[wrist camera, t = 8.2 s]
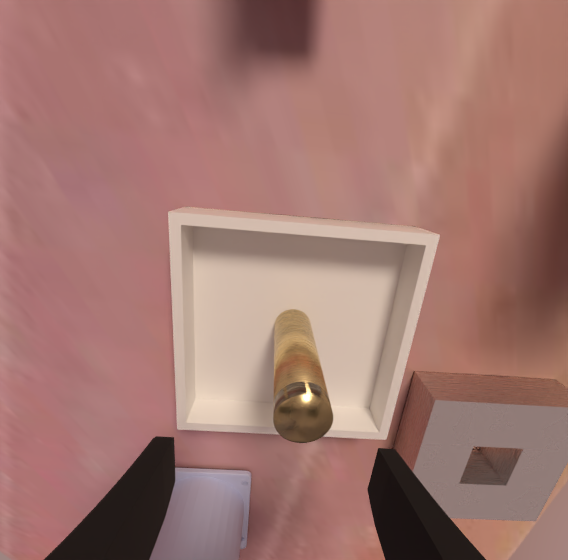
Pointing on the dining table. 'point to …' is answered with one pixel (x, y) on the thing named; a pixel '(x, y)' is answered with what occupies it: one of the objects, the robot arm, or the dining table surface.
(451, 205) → the dining table surface
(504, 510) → the grey square socket block
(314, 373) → the pin
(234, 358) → the tray
